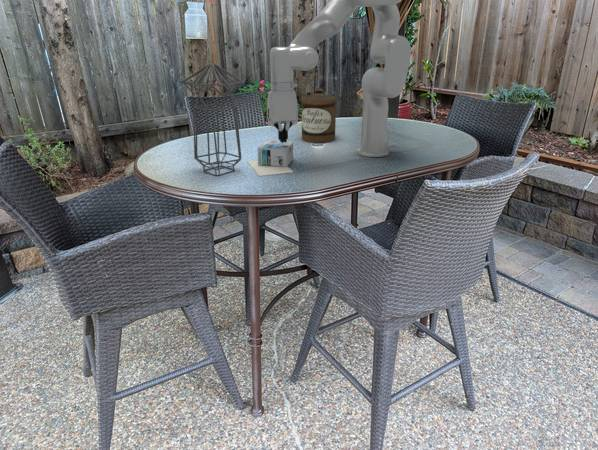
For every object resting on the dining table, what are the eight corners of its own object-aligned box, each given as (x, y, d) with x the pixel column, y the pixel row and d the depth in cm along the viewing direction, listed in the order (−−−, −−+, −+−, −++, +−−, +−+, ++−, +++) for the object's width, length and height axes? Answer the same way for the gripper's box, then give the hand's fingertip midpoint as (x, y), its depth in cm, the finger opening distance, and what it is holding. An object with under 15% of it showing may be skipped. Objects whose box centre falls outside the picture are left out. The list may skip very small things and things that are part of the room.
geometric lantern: (187, 171, 148) (176, 63, 134) (225, 163, 158) (218, 62, 145) (213, 181, 138) (204, 65, 124) (252, 171, 148) (247, 63, 134)
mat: (278, 158, 161) (278, 158, 161) (293, 172, 146) (293, 171, 146) (247, 162, 158) (247, 161, 158) (259, 176, 142) (259, 175, 142)
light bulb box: (286, 148, 148) (256, 146, 150) (286, 167, 151) (257, 165, 153) (293, 141, 158) (265, 139, 160) (293, 159, 160) (265, 157, 162)
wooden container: (297, 141, 187) (296, 89, 177) (307, 134, 199) (307, 85, 190) (330, 144, 182) (331, 90, 173) (338, 136, 195) (340, 86, 186)
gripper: (299, 84, 148) (299, 137, 155) (257, 86, 143) (259, 141, 151) (307, 87, 141) (306, 142, 149) (263, 89, 137) (265, 146, 144)
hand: (283, 141), depth 150 cm, fingers closed
